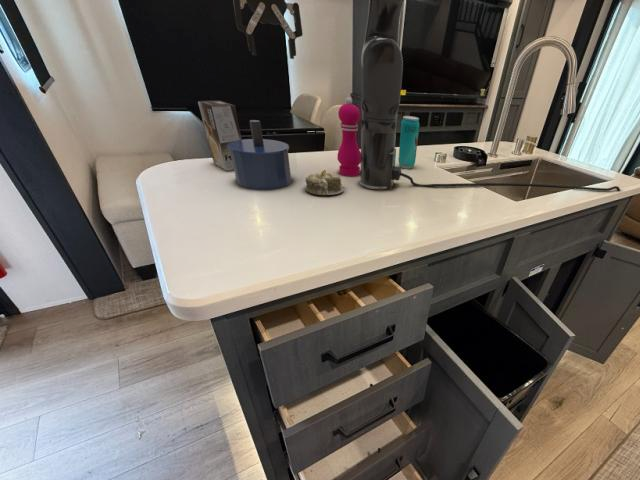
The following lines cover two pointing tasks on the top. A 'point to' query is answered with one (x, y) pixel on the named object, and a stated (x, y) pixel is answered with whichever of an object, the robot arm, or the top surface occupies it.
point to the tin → (262, 170)
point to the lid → (257, 143)
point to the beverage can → (408, 141)
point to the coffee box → (220, 130)
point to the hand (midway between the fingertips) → (273, 57)
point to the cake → (324, 184)
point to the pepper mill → (349, 140)
